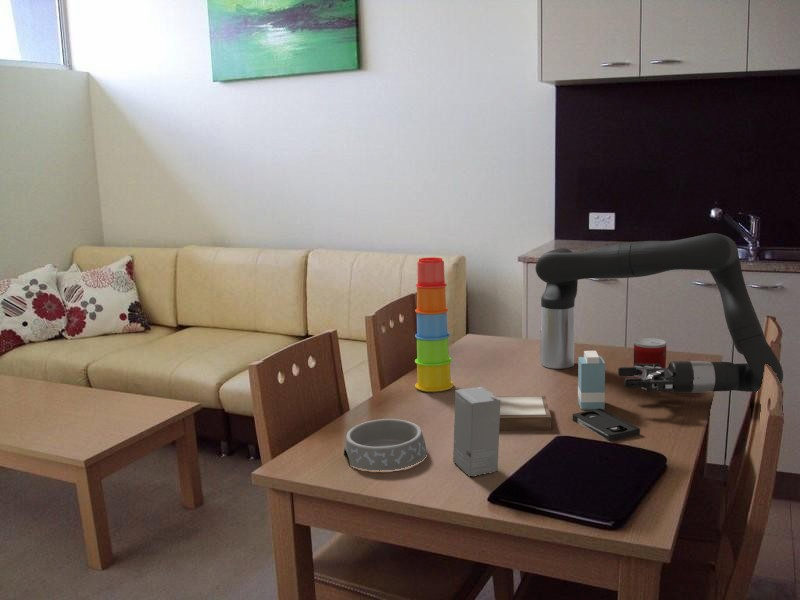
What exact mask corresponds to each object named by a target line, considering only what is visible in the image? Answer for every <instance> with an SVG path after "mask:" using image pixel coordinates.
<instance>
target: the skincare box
mask: <svg viewBox="0 0 800 600" xmlns="http://www.w3.org/2000/svg"><path fill="white" fill-rule="evenodd" d="M454 391H455V393H454V423H453V426H454V428H453V430H454V431H453V432H454V433H453V452H452V454H453V455H452V456H453V457H452V462H453V463H454V462H455V463H456V464H455V463H454V464H455V465H456V466H458V468H459V469H461V470H462V472H464V473H465V474H466V475H467V474H468V475H467V476H468V477H470V476H473V477H476V476H475V475H479V476H481V475H480V474H484V473H489V474H491V473H490V472H494V473H496V472H495V471H497V472H498V469H499V467H498V466H499V445H500V443H499V439H500V430H499V424H500V399H498V398H497V397H495V396H496V395H494V393H493V392H492V391H488V390H487V389H486V388H485V387H483V386H478V387H470V388H467V387H466V388H459V389H456V390H454ZM484 475H485V474H484Z"/></svg>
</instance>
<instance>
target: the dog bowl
mask: <svg viewBox="0 0 800 600" xmlns="http://www.w3.org/2000/svg"><path fill="white" fill-rule="evenodd" d="M345 451H346V452H345ZM344 453H345V454H346V455H347V456H348V461H349V466H350V465H351V466H354V467H357V468H362V469H367V470H379V471H380V470H395V469H401V468H405V467H408V466H411V465H414V464H416V463H418V462H420V461H422V460H423V459H424V458H425V457H426V455H427V456H428V450H427V445H426V442H425V437H424V434H423V431H422V428H421V427H420V426H419V425H417V424H416V423H414V422H411V421H408V420H405V419H397V418H380V419H372V420H369V421H364V422H362V423H359V424H357V425H355V426H353V427H351V428H350V429H348V431H347V433H346V436H345V444H344V448H343V454H344Z"/></svg>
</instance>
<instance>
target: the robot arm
mask: <svg viewBox="0 0 800 600" xmlns="http://www.w3.org/2000/svg"><path fill="white" fill-rule="evenodd" d="M677 270H698V271H709V273H710V275H711V277H712V278H713V280H714V282H715V284H716V286H717V288H718V291H719V295H720V298H721V302H722V308H723V315H724V318H725V324H726V327H727V329H728V331H729V334H730V337H731V340H732V342H733V345H734V347H735V351H736V352H737V353H739V354H740V355H742V356H743V357H744V359H745V361H746V363H733V362H731V361H730V362H729V361H704V360H672V361H670V362H669V363H668V365H667V366H668V367H667V368H666V369H665V368H661V367H660V364H638V363H637V364H635V366H634V365H633V366H620V367H618V368H617V371H618V373H617V375H618V376H619V377H623V378H624V377H627V378H625V379H624V387H625V388H626V389H642V390H646V392H648V393H655V392H656V393H657V392H658V393H660V392H662V393H663V392H671V393H673V394H674V393H675V394H680V393H682V394H683V393H685V394H686V393H691V394H692V393H693V394H695V393H698V394H699V393H708V392H732V391H734V392H735V391H736V392H748V393H749V392H750V393H751V392H752V393H758V392H757V391H758V390H759V389H760V387H761V384H762V379H763V372H764V365H765V364H768V365H769V366H771V367H772V369H773V371H774V372H775V373H777V377H778V379H779V381H780V383H781V384H782V383H783V380H784V371H783V367H782V365H781V363H780V361H779V359H778V357H777V356H776V354H775V352H774V351H773V349H772V347H771V346H770V345H769V343H768V342H767V339H766V336H765V333H764V330H763V328H762V325H761V323H760V320H759V317H758V315H757V313H756V310H755V308H754V304H753V303H752V300H751V297H750V295H749V292H748V289H747V286H746V282H745V279H744V274H743V271H742V270H743V269H742V264H741V260H740V254H739V250H738V246H737V243H736V242H735V241H734V240H733V239H732V238H731V237H729V236H727V235H724V234H721V233H716V232H710V233H706V234H701V235H697V236H693V237H686V238H681V239H676V240H675V239H674V240H643V241H631V242H630V241H629V242H620V243H614V244H610V245H605V246H600V247H598V248H597V247H596V248H593V249H590V250H585V251H580V252H579V251H577V252H573V251H572V250H570V249H568V248H566V247H559V248H555V249H552V250H549V251H547V252H545V253H543V254H542V255H541V256H540V257H539V258H538V260H537V261H536V263H535V273H536V275H537V277H538V278H539V279H540V280H541V281H542V282H545V283H546V286H545V289H544V292H543V294H542V295H541V298H540V307H541V309H540V311H541V313H540V315H541V316H540V318H541V320H540V322H541V323H540V325H541V327H540V328H541V330H540V334H539V337H540V341H539V343H540V351H539V352H540V353H539V354H540V356H539V357H540V363H541V365H542V367H546V368H548V369H553V370H554V369H557V370H558V369H561V370H562V369H568V368H571V367H574V366H575V303H576V302H575V301H576V298H577V295H578V286H579V285H578V282H579V281H578V280H586V279H587V280H588V279H591V280H592V279H595V280H596V279H599V280H601V279H603V280H604V279H605V280H606V279H608V280H609V279H630V278H631V279H632V278H643V277H647V276H653V275H656V274H661V273H665V272H669V271H677ZM640 370H642V371H640ZM633 376H635V377H641V378H642V379H641V378H633Z"/></svg>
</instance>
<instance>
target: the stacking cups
mask: <svg viewBox="0 0 800 600" xmlns="http://www.w3.org/2000/svg"><path fill="white" fill-rule="evenodd" d="M416 272H417V274H416V275H417V276H416V277H417V283H416V284H415V287H416V306H417V307H416V309H414V312H415V313H416V332H417V333H415V335H414V337H415V339H416V357H417V358H416V359H414V363H415V364H416V371H417V372H416V373H417V375H416V376H417V377H416V379H417V382H416V383H415V385H414V387H415V388H416V389H417V390H419V391H422V392H432V393H435V392H443V391H444V392H445V391H448V390H450V389H452V388H453V387H454V382H453V381H452V380H451V378H452V376H451V363H452V362H453V360H452V357H450V349H449V346H450V345H449V337H450V335H451V334H450V333H449V330H448V315H447V314H448V312H449V308H448V307H447V300H446V299H447V298H446V287H447V285H448V284H447V283H445V282H446V281H445V280H446V279H445V261H444V260H443V258H442V257H422V258H418V261H417V271H416Z"/></svg>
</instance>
